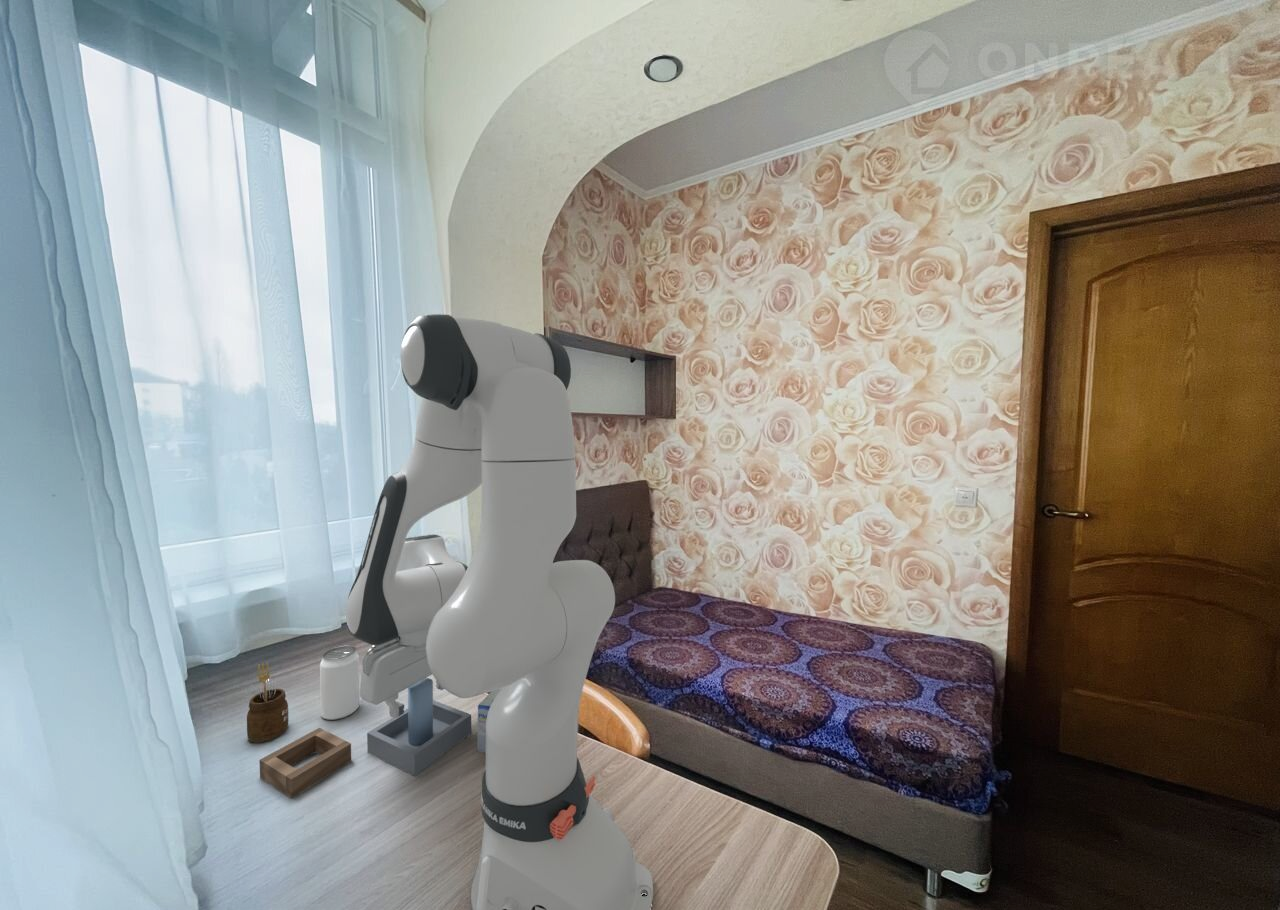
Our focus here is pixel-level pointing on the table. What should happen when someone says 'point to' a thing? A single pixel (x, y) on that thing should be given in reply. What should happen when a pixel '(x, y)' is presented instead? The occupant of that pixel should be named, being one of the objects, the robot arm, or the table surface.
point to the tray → (397, 751)
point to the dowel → (420, 712)
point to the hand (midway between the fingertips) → (420, 700)
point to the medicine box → (484, 719)
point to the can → (339, 682)
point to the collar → (295, 781)
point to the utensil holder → (267, 712)
